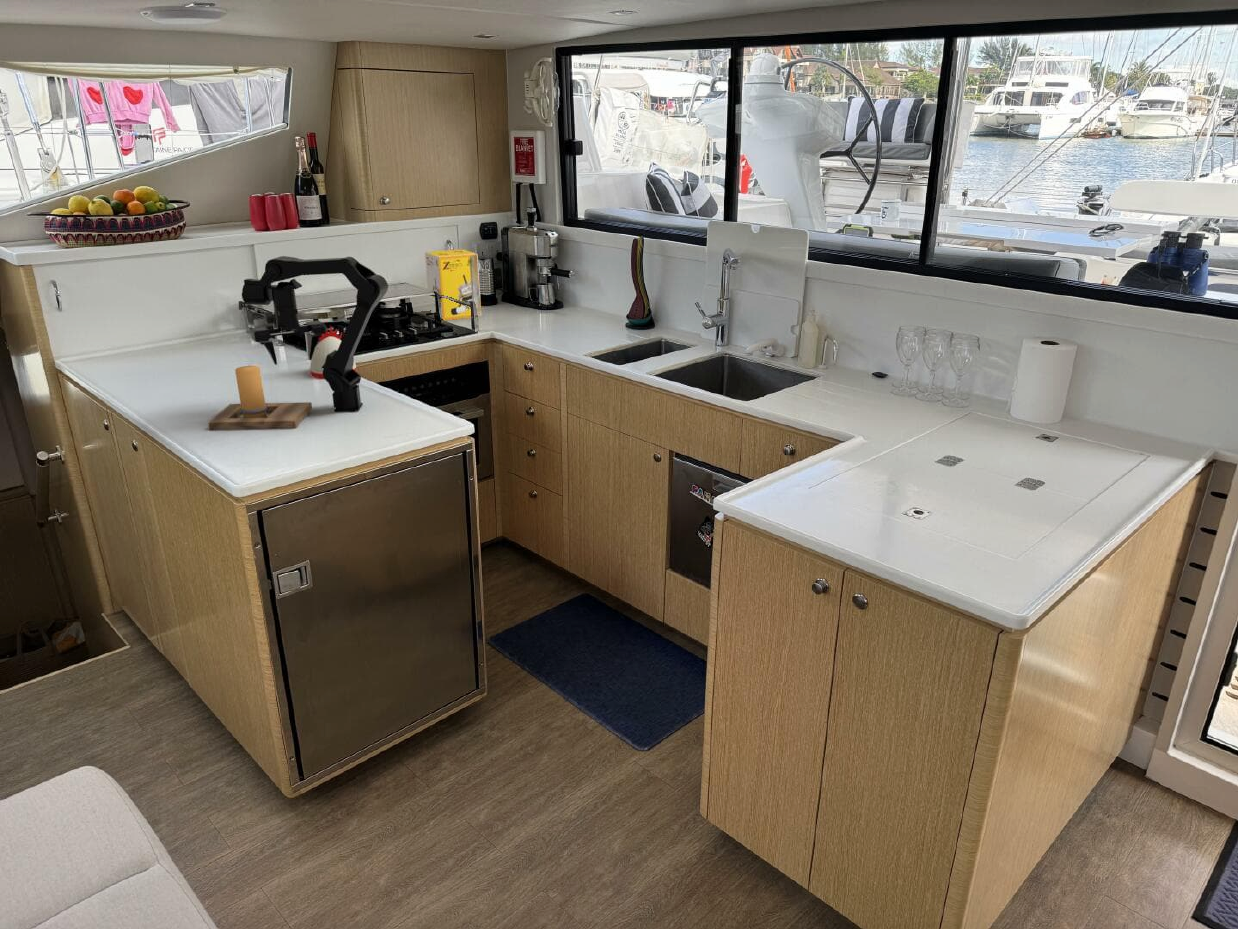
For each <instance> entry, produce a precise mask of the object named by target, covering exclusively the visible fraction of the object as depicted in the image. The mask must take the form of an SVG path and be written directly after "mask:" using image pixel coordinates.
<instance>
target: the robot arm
mask: <svg viewBox="0 0 1238 929" xmlns="http://www.w3.org/2000/svg"><path fill="white" fill-rule="evenodd" d="M332 274H334V275H337V274H342V275H343V276H345V277H346V279H347V280H348V281H349V283H350V284H351V286H352V287H354V288H355V289H357V292H356V306H355V309H354V311H353V313H352V315H351V317H350V320H349V323H348V325H347V327H346V329H345V331H344V335H342V338H341V343H340V346H339V348H338V350H334V351H333V352H331V353H330V354H328V355H327V357H326V360H325V364H324V365H323V366H322V367H321V368H324V369H323V376H324V378H325V379H324V380H325V381H326V382H327V383H328V385H329V387H330V388H331V391H332V392H333V393H332V395H331V396H332V401H333V403H332V404H333V408H334V412H336V413H337V412H342V413H343V412H359V411H360V410H361V408H362V407H363V404H364V403H363V402H362V400H361V394H360V393H361V391H360V385H359V384H360V383H361V379H362V375H361V374H360V373H358V371H357V372H356V371H355V370H354V369H353V364H354V360H355V358H354V357H355V352H356V350H357V347H358V345H359V343H360V340H361V338H362V336H363V334H364V331H365V329H366V327H367V325H368V322H369V321H370V320H369V319H370V318H371V315H372V312H373V311H374V310H375V308H376V307H377V306H378V305H379V303H380V302H381V300H382V299H384V296H385V295H386V294H387V292H388V289H389V284H388V281H387V280H386V279H385V277H384V276H382V275H380V274H377V273H375V272H374V271H373V270H372V269H370V268H368V267H367V266H365V264H362V263H360V262H359V261H358V260H357V259H356V258H354V257H352V256H346V257H332V258H331V257H330V258H313V259H302V258H299V257H293V256H286V255H285V256H284V255H282V256H278V257H275V258H274V257H273V258H271V259H269V260H267V262H266V263H265V266H264V273H263V274H262V275H261V277H260V279H257V278H256V279H254V278H246V279H244V280H243V286H242V289H241V298H242V301H243V303H244V304H245V305H247V306H249V305H252V306H254V305H255V306H259V305H260V306H269V305H270V304H271V302H273V304H272V305H273V312H272V311H267V312H266V311H265V312H263V317H264V322H265V325H267V326H268V325H269V326H270V325H272V326H273V329H269V328H268V327H266V326H258V327H251V329H250V332H249V334H250V338H251V340H253V341H254V342H255V343H259V345H261V346H262V345H263V346H264V347H265V348H266V350H267V352H268V354H269V355H270V358H271V360H272V362H273V364H274V365H275V366H277V365H278V362H277V355H276V351H275V346H274V342H273V341H272V340H271V338H272V337H278V336H280V337H281V336H287V335H296V334H302V333H305V334H306V339H307V356H308V360H310V361H311V359H312V356H313V353H314V349H315V347H316V346H317V344H318V342H319V338H320V337H322V335H321V334H326V333H327V331H328V330H327V331H326V327H327V326H326V324H325V323H324V322H322V321H320V320H319V319H318V320H310V321H306V324H304V325H300V320H299V310H298V307H297V301H296V298H297V297H296V291H295V290H298V289H300V288H302V287H303V285H302V284H301V283H300V282H299V281H298V280H296V278H297V277H300V276H310V275H311V276H312V275H313V276H315V275H317V276H318V275H332ZM286 280H289V281H286ZM276 282H278V283H277V284H274V283H276Z"/></svg>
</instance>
